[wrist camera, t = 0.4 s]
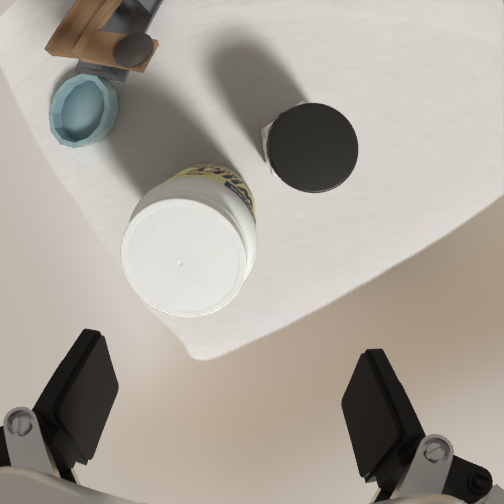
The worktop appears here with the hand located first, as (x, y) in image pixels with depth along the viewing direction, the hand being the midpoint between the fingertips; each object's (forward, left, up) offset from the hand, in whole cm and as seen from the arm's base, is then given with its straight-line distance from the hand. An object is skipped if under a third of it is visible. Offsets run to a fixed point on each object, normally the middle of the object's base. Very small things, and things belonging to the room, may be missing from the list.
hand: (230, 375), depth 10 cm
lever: (-20, -21, -23) cm, 37 cm away
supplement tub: (+3, -4, -30) cm, 31 cm away
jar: (-9, +3, -30) cm, 32 cm away
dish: (-4, -25, -30) cm, 39 cm away
